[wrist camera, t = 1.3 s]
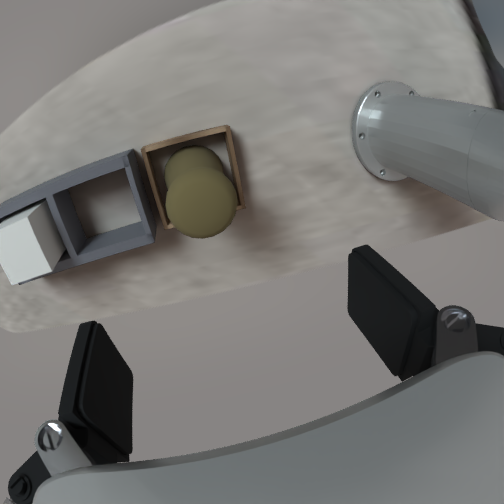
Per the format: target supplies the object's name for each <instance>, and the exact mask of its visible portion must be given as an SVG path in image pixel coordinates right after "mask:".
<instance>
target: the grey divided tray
mask: <svg viewBox="0 0 504 504" xmlns="http://www.w3.org/2000/svg"><path fill="white" fill-rule="evenodd" d="M122 168H125V170H126V173H127V177H128V180H129V183H130V187H131V190H132V193H133V196H134V199H135V202H136V205H137V208H138V211H139V214H140V217H141V220H142V221H141V222H138V223H134V224H131V225H128V226H125V227H121V228H118V229H115V230H112V231H109V232H106V233H103V234H100V235H97V236H94V237H91V238H88V239H86V236H85V234H84V231H83V229H82V226H81V224H80V221H79V219H78V216H77V213H76V211H75V208H74V205H73V203H72V200H71V197H70V194H69V192H68V189H67V188H70V187H72V186H75V185H77V184H80V183H83V182H85V181H88V180H91V179H93V178H96V177H99V176H102V175H104V174H107V173H110V172H113V171H116V170H119V169H122ZM45 197H46V200H47V203H48V205H49V208H50V210H51V213H52V216H53V218H54V221H55V223H56V226H57V228H58V230H59V233H60V235H61V237H62V240H63V242H64V244H65V247H66V249H65V251H64V252H63V254H62V256H61V257H60V259H59V261H58V262H57V264H56V266H55V267H54V269H53V271H52V272H49V273H46V274H43V275H40V276H37V277H34V278H31V279H28V280H26V281H23V282H20V283H18V284H19V285H21V284H24V283H26V282H29V281H32V280H35V279H38V278H41V277H44V276H47V275H50V274H53V273H57V272H60V271H63V270H66V269H69V268H72V267H75V266H78V265H81V264H85V263H88V262H91V261H94V260H97V259H101V258H104V257H107V256H110V255H114V254H117V253H120V252H124V251H127V250H130V249H134V248H137V247H140V246H144V245H147V244H151V243H154V242H155V235H156V223H155V220H154V217H153V214H152V211H151V207H150V204H149V201H148V198H147V195H146V191H145V188H144V185H143V181H142V178H141V174H140V171H139V168H138V164H137V160H136V157H135V153H134V150H133V149H131V150H128V151H125V152H122V153H119V154H116V155H113V156H110V157H107V158H104V159H101V160H99V161H96V162H93V163H91V164H88V165H85V166H83V167H80V168H78V169H75V170H73V171H70V172H68V173H65V174H63V175H60V176H58V177H56V178H53V179H51V180H49V181H47V182H44V183H42V184H40V185H38V186H35V187H33V188H31V189H29V190H27V191H25V192H23V193H21V194H19V195H17V196H15V197H13V198H11V199H9V200H7V201H5V202H3V203H1V204H0V224H1V223H2V222H3V221H4V220H5V219H6V218H7V217H9V216H10V215H11V213H12V212H15V211H17V210H19V209H21V208H23V207H25V206H27V205H30V204H32V203H34V202H36V201H39V200H41V199H43V198H45Z"/></svg>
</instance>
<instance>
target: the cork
mask: <svg viewBox="0 0 504 504" xmlns="http://www.w3.org/2000/svg"><path fill="white" fill-rule="evenodd" d="M164 179H165V183H166V186H167V189H168V192H167V196H166V205H165V206H166V211H167V215H168V218H169V219H170V221H171V222H172V224H173V226H174V227H175V228H176V229H178V230H179V231H180V232H181V233H182V234H184V235H187V236H190V237H192V238H208V237H213V236H215V235H217V234H219V233H221V232H222V231H224V230H225V229H226V228H227V227H228V226H229V225H230V224H231V222H232V220H233V218H234V216H235V214H236V209H237V203H238V202H237V194H236V190H235V188H234V186H233V184H232V182H231V181H230V180H229V179H228V178H227V177H226V176H225V175H224V173H223V166H222V163H221V161H220V159H219V157H218V156H217V155H216V154H215V153H214V152H213V151H212V150H210V149H208V148H206V147H204V146H197V145H192V146H186V147H183V148H181V149H180V150H178V151H176V152H175V153H174V154H173V155H172V156H171V157H170V158H169V160H168V162H167V164H166V166H165V172H164Z"/></svg>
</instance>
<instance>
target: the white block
mask: <svg viewBox="0 0 504 504" xmlns="http://www.w3.org/2000/svg"><path fill="white" fill-rule="evenodd" d="M65 249H66V247H65V244H64V242H63V240H62V237H61V235H60V233H59V230H58V228H57V226H56V223H55V221H54V218H53V216H52V213H51V210H50V208H49V205H48V203H47V200H46V197H45V198H43V199H41V200H39V201H36V202H34V203H32V204H30V205H27V206H25V207H23V208H21V209H19V210H17V211H15V212H13V213H12V214H11V215H10V216H9V217H7V218H6V219H5V220H4V221H3V222H2V223H1V224H0V264H1V266H2V268H3V270H4V271H5V273H6V275H7V277H8V279H9V281H10V283H11V284H12V285H14V284H17V283H20V282H23V281H26V280H28V279H31V278H34V277H37V276H40V275H43V274H46V273H49V272H52V271H53V269H54V267H55V266H56V264H57V262H58V261H59V259H60V257H61V256H62V254H63V252H64V251H65Z"/></svg>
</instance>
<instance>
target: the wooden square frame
mask: <svg viewBox="0 0 504 504" xmlns="http://www.w3.org/2000/svg"><path fill="white" fill-rule="evenodd" d="M220 132H224V137H225V141H226V146H227V151H228V156H229V161H230V166H231V171H232V176H233V180H234V185H235V190H236V194H237V202H238V203H237V209H236V211H237V210H241V209H244V208H246V206H245V201H244V196H243V191H242V186H241V181H240V176H239V171H238V166H237V161H236V156H235V151H234V146H233V141H232V135H231V130H230V126H228V125H223V126H219V127H214V128H210V129H206V130H202V131H198V132H194V133H190V134H186V135H182V136H178V137H174V138H171V139H167V140H164V141H160V142H157V143H153V144H150V145H147V146H143V147H142V149H141V152H142V156H143V159H144V163H145V167H146V170H147V174H148V177H149V181H150V184H151V188H152V191H153V194H154V198H155V201H156V204H157V207H158V211H159V214H160V217H161V220H162V223H163V226H164V229H165V230H167V229H171V228H174V226H173V224H172V222H171V221H170V219H169V218H167V214H166V211H165V208H164V205H163V201H162V198H161V194H160V191H159V188H158V184H157V181H156V177H155V173H154V170H153V166H152V163H151V159H150V155H149V151H152V150H155V149H158V148H162V147H165V146H169V145H172V144H176V143H180V142H184V141H187V140H191V139H195V138H199V137H203V136H207V135H212V134H216V133H220Z"/></svg>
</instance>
